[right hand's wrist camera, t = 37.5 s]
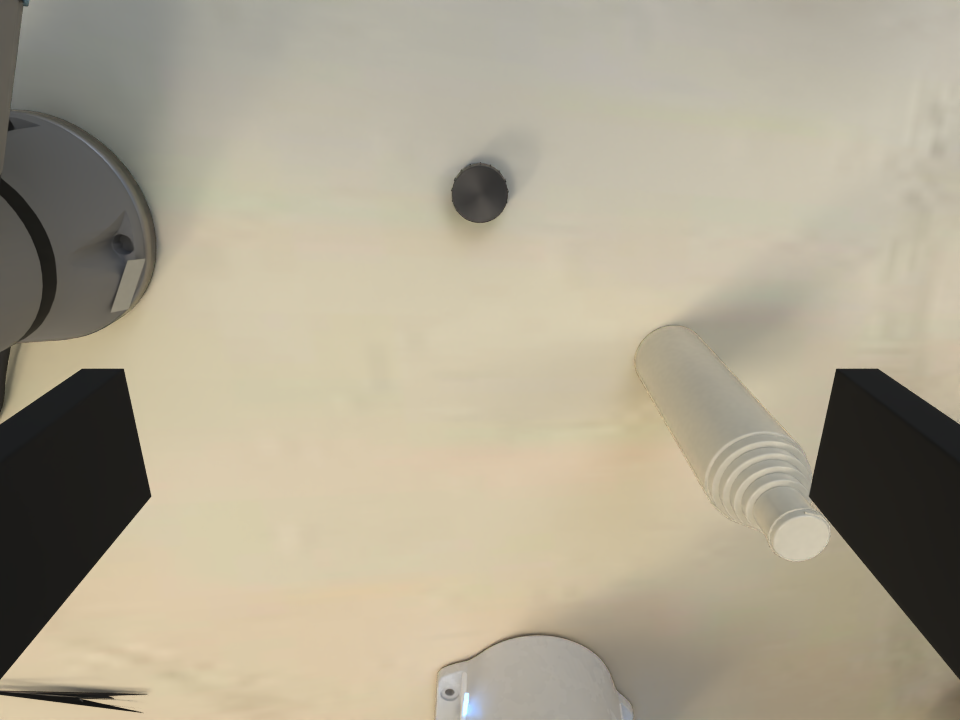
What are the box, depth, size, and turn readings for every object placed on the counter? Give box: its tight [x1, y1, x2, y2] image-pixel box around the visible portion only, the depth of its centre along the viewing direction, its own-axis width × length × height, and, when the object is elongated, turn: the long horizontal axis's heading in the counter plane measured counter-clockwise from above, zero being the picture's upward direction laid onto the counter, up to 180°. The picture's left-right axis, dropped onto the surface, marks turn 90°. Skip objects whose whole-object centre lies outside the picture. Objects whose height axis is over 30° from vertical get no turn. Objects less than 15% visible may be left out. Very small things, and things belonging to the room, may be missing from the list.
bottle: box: [635, 326, 831, 562], centre depth 39 cm, size 5×5×22 cm
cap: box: [451, 162, 508, 223], centre depth 44 cm, size 4×4×2 cm
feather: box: [0, 691, 145, 713], centre depth 61 cm, size 2×28×2 cm
